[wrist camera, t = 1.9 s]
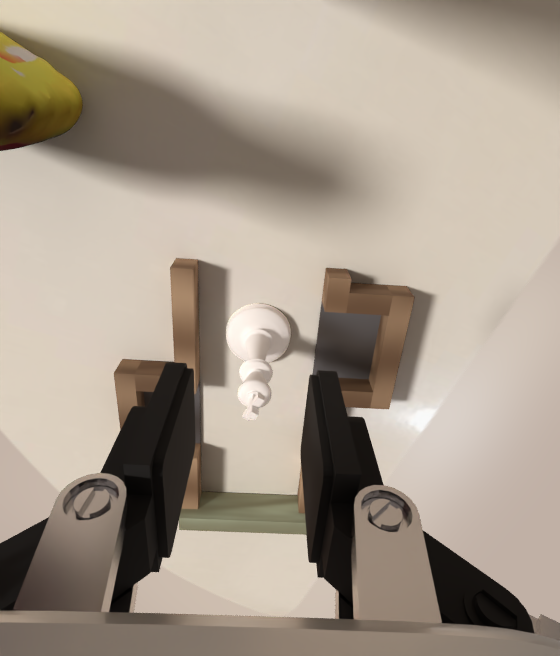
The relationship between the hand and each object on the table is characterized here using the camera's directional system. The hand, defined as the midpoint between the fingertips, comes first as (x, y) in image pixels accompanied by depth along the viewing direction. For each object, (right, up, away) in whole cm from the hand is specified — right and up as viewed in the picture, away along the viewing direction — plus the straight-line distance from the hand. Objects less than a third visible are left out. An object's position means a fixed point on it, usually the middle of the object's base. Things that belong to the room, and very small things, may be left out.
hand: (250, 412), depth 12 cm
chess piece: (-1, +2, +21) cm, 21 cm away
